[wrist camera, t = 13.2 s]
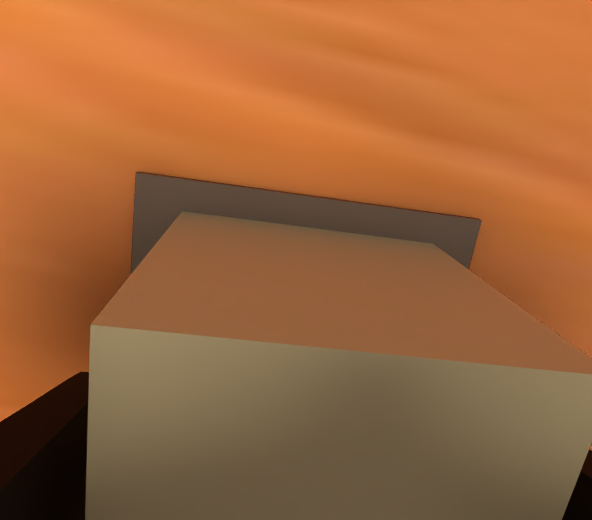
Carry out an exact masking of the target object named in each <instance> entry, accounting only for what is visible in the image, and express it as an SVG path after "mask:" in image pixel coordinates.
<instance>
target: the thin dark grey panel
mask: <svg viewBox="0 0 592 520" xmlns="http://www.w3.org/2000/svg"><path fill="white" fill-rule="evenodd" d="M182 211H186V212H194V213H202V214H209V215H217V216H225V217H232V218H240V219H248V220H256V221H263V222H271V223H279V224H286V225H294V226H302V227H309V228H317V229H325V230H333V231H340V232H348V233H356V234H363V235H371V236H379V237H387V238H394V239H402V240H410V241H417V242H425V243H433V244H434V245H436V246H437V247H438V248H440V249H441V250H442V251H444V252H445V253H447V254H448V255H449V256H451V257H452V258H454V259H455V260H456V261H458V262H459V263H460V264H462V265H463V266H465V267H466V268H467V269H469V266H470V262H471V259H472V255H473V251H474V247H475V244H476V240H477V236H478V232H479V229H480V225H481V221H482V220H480V219H476V218H469V217H462V216H455V215H447V214H440V213H433V212H426V211H418V210H411V209H404V208H397V207H389V206H382V205H375V204H368V203H360V202H353V201H346V200H339V199H331V198H324V197H317V196H310V195H302V194H295V193H288V192H281V191H273V190H266V189H259V188H252V187H244V186H237V185H230V184H223V183H215V182H208V181H201V180H194V179H186V178H179V177H172V176H165V175H157V174H150V173H143V172H137V173H136V178H135V198H134V217H133V236H132V256H131V274H132V273H133V271H134V270H135V269H136V268H137V266H138V265H139V264H140V263H141V261H142V260H143V259H144V258H145V257H146V255H147V254H148V253H149V252H150V250H151V249H152V248H153V247H154V245H155V244H156V243H157V242H158V240H159V239H160V238H161V237H162V236H163V234H164V233H165V232H166V231H167V229H168V228H169V227H170V226H171V224H172V223H173V222H174V221H175V219H176V218H177V217H178V216H179V214H180V213H181V212H182Z"/></svg>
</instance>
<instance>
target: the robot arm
mask: <svg viewBox="0 0 592 520" xmlns="http://www.w3.org/2000/svg"><path fill="white" fill-rule="evenodd" d="M88 394H89V372H80V373H78V374H76V375H74V376H73V377H71V378H69V379H68V380H66V381H64V382H63V383H61V384H60V385H58V386H57V387H55V388H53V389H52V390H50V391H49V392H47V393H46V394H44V395H43V396H41V397H39V398H38V399H36V400H35V401H33V402H32V403H30V404H28V405H27V406H25V407H24V408H22V409H20V410H19V411H17V412H16V413H14V414H12V415H11V416H9V417H8V418H6V419H4V420H3V421H1V422H0V520H85V505H86V468H87V431H88ZM562 520H592V451H591V450H590V449H589V451H588V453H587V456H586V458H585V461H584V464H583V466H582V469H581V471H580V474H579V477H578V479H577V482H576V484H575V487H574V489H573V492H572V495H571V497H570V500H569V502H568V505H567V508H566V510H565V513H564V515H563V518H562Z"/></svg>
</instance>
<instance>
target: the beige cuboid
mask: <svg viewBox="0 0 592 520" xmlns="http://www.w3.org/2000/svg"><path fill="white" fill-rule="evenodd" d="M591 443H592V359H591V358H590V357H589V356H587V355H586V354H584V353H583V352H582V351H580V350H579V349H578V348H576V347H575V346H573V345H572V344H571V343H569V342H568V341H567V340H565V339H564V338H562V337H561V336H560V335H558V334H557V333H556V332H554V331H553V330H551V329H550V328H549V327H547V326H546V325H544V324H543V323H542V322H540V321H539V320H538V319H536V318H535V317H533V316H532V315H531V314H529V313H528V312H527V311H525V310H524V309H522V308H521V307H520V306H518V305H517V304H516V303H514V302H513V301H511V300H510V299H509V298H507V297H506V296H505V295H503V294H502V293H500V292H499V291H498V290H496V289H495V288H493V287H492V286H491V285H489V284H488V283H487V282H485V281H484V280H482V279H481V278H480V277H478V276H477V275H476V274H474V273H473V272H471V271H470V270H469V269H467V268H466V267H465V266H463V265H462V264H460V263H459V262H458V261H456V260H455V259H454V258H452V257H451V256H449V255H448V254H447V253H445V252H444V251H442V250H441V249H440V248H438V247H437V246H436V245H434V244H433V243H425V242H417V241H410V240H402V239H394V238H387V237H379V236H371V235H363V234H356V233H348V232H340V231H333V230H325V229H317V228H309V227H302V226H294V225H286V224H279V223H271V222H263V221H256V220H248V219H240V218H232V217H225V216H217V215H209V214H202V213H194V212H186V211H182V212H181V213H180V214H179V216H178V217H177V218H176V219H175V221H174V222H173V223H172V224H171V226H170V227H169V228H168V229H167V231H166V232H165V233H164V234H163V236H162V237H161V238H160V239H159V240H158V242H157V243H156V244H155V245H154V247H153V248H152V249H151V250H150V252H149V253H148V254H147V255H146V257H145V258H144V259H143V260H142V261H141V263H140V264H139V265H138V266H137V268H136V269H135V270H134V271H133V273H132V274H131V275H130V276H129V278H128V279H127V280H126V281H125V282H124V284H123V285H122V286H121V287H120V289H119V290H118V291H117V292H116V294H115V295H114V296H113V297H112V299H111V300H110V301H109V302H108V303H107V305H106V306H105V307H104V308H103V310H102V311H101V312H100V313H99V315H98V316H97V317H96V318H95V320H94V321H93V322H92V323H91V324H90V357H89V394H88V431H87V468H86V505H85V520H562V518H563V515H564V513H565V510H566V508H567V505H568V502H569V500H570V497H571V495H572V492H573V489H574V487H575V484H576V482H577V479H578V477H579V474H580V471H581V469H582V466H583V464H584V461H585V458H586V456H587V453H588V451H589V448H590V446H591Z"/></svg>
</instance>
